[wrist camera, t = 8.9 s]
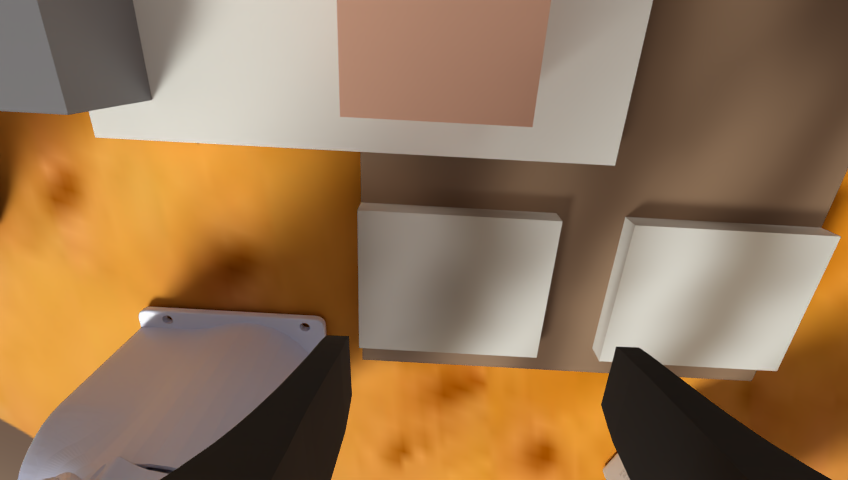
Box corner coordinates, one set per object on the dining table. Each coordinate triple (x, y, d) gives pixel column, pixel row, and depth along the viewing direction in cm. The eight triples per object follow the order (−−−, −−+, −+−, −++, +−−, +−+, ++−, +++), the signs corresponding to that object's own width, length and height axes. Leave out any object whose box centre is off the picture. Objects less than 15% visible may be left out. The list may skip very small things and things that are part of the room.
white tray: (113, 132, 18) (-2, 161, 13) (46, -151, 14) (-146, -250, 9) (605, 159, 17) (666, 197, 13) (666, -118, 14) (780, -201, 9)
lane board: (365, 347, 23) (359, 372, 21) (362, -156, 15) (351, -186, 13) (739, 367, 23) (765, 395, 21) (951, -125, 15) (1025, -151, 13)
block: (367, 97, 16) (340, 116, 11) (367, -67, 14) (332, -125, 9) (504, 105, 16) (532, 126, 11) (523, -59, 14) (567, -113, 9)
